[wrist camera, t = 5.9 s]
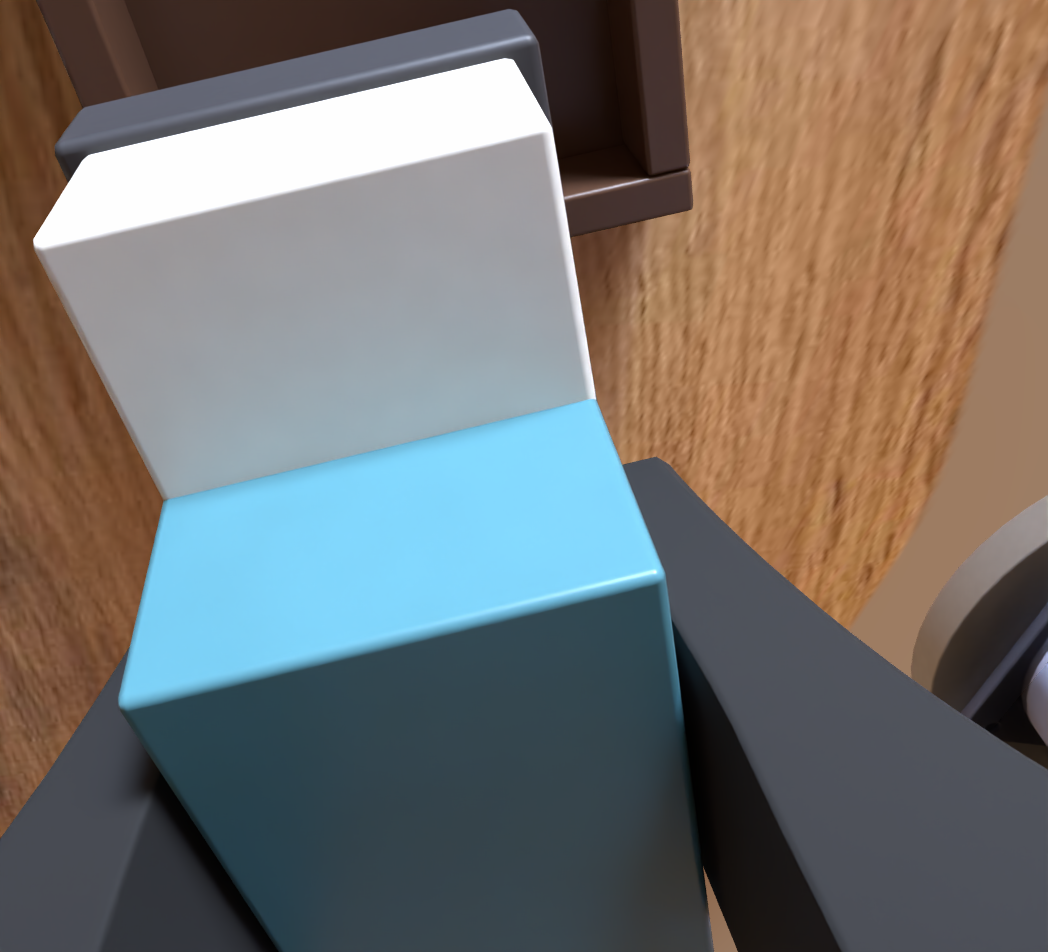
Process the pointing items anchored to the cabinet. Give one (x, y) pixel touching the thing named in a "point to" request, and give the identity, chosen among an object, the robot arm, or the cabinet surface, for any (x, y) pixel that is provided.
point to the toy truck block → (383, 504)
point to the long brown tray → (412, 4)
